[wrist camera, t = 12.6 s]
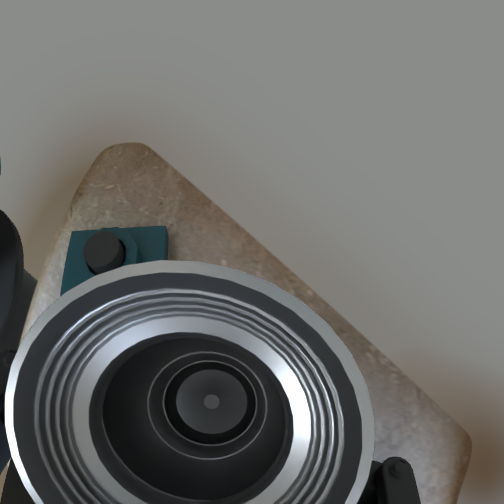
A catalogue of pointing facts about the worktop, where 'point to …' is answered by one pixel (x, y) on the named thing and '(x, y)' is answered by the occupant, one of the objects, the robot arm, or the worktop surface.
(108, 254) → the button
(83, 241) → the teal pump base
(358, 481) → the silver bottle
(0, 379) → the robot arm
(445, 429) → the worktop surface
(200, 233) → the worktop surface
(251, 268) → the worktop surface
